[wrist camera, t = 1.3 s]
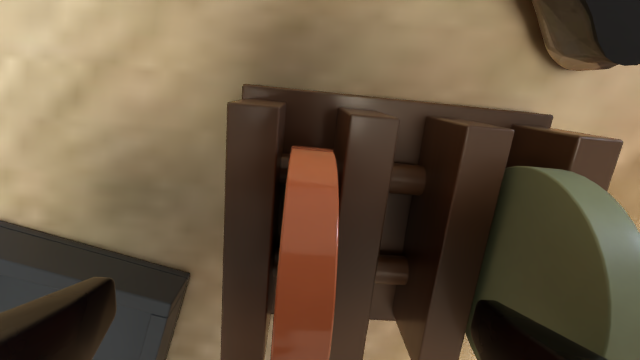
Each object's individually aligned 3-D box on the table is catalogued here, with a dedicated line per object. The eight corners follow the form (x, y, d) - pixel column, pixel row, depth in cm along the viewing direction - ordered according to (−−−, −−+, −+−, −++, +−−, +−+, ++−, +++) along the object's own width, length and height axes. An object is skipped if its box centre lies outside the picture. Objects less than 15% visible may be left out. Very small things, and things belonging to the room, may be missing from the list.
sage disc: (467, 306, 15) (601, 485, 8) (441, 304, 15) (555, 484, 8) (505, 150, 13) (717, 216, 6) (475, 147, 13) (659, 212, 6)
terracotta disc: (309, 297, 14) (314, 480, 8) (281, 295, 14) (261, 478, 8) (326, 134, 13) (351, 186, 6) (294, 131, 13) (282, 181, 6)
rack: (483, 311, 17) (547, 390, 13) (238, 297, 16) (213, 376, 12) (534, 112, 15) (637, 124, 10) (247, 84, 14) (219, 82, 9)
